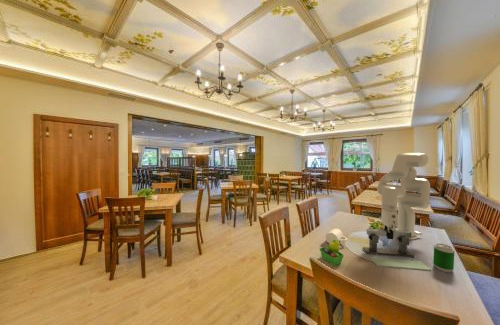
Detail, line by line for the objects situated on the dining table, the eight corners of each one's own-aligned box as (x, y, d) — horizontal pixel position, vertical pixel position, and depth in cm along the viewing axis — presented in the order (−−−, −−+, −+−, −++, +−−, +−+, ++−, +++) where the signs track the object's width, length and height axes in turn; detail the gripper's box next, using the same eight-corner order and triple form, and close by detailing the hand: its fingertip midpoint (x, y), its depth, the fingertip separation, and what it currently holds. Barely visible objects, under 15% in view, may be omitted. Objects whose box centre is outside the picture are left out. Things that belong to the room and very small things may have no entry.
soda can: (455, 274, 97) (457, 251, 96) (435, 270, 101) (436, 247, 100) (450, 267, 103) (451, 245, 103) (431, 263, 107) (432, 241, 107)
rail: (408, 235, 118) (408, 230, 117) (411, 237, 115) (411, 232, 114) (366, 233, 121) (366, 228, 121) (368, 235, 118) (368, 230, 118)
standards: (407, 252, 119) (407, 234, 119) (414, 257, 113) (415, 238, 112) (362, 248, 123) (363, 231, 123) (367, 253, 117) (367, 235, 116)
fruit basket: (318, 256, 114) (318, 237, 113) (330, 254, 117) (331, 235, 116) (333, 267, 103) (333, 246, 102) (346, 264, 106) (346, 243, 105)
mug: (325, 242, 131) (325, 231, 131) (331, 238, 139) (331, 227, 138) (344, 248, 123) (344, 236, 123) (349, 243, 131) (349, 231, 130)
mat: (420, 262, 108) (420, 261, 108) (431, 270, 100) (431, 269, 100) (370, 258, 112) (370, 257, 112) (377, 266, 104) (377, 265, 104)
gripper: (404, 211, 108) (403, 244, 109) (388, 203, 124) (387, 232, 126) (389, 211, 109) (388, 243, 111) (375, 203, 126) (375, 231, 127)
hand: (388, 237), depth 118 cm, fingers closed on rail, 3 cm apart
